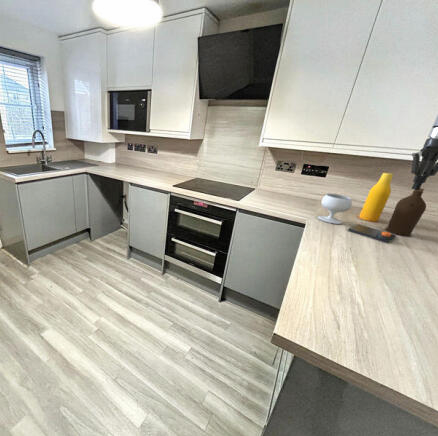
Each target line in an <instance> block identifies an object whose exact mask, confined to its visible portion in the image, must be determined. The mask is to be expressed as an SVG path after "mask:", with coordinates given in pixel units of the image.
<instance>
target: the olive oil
mask: <svg viewBox="0 0 438 436" xmlns="http://www.w3.org/2000/svg"><path fill="white" fill-rule="evenodd" d="M424 191H425V188H422V187H420V189H419V190H414V189H413V191H412V193H411V194H410V195H407V196H406V197H403V198H401V199H400V200H399V201H397V202H396V204H395V208H394V210H393V212H392V215H391V217H390V220H389V223H388V224H387V226H386V229H385V230H386V232H388V233H391V234H394V235H397V236H402V237H410V236H411V235H412V233H413V231H414V229H415V228H416V226H417V224H418V223H419V221H420V219H421V218H422V216H423V214H424V213H425V212H426V209H427V203H426V201H425V200H424V198H423V197H422V195H423V193H424Z"/></svg>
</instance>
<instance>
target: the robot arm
mask: <svg viewBox="0 0 438 436" xmlns="http://www.w3.org/2000/svg"><path fill="white" fill-rule="evenodd" d="M427 137H428V138H426V140H425V141H424V144H423V147H422V148H421V149H420V150H419V151H417V152H412V153H411V156H412V163H411V164H412V165H411V171H410V173H411V175H412V174H413V175H414V177H413V180H412V182H413V184H412V186H411V190H413V191H414V190H419V189H420V188H422V185H423V184H426V181H427V180H428V178H430V177H431V176H432V177H433V176H436V174H437V173H438V115H436V118H435V120H434V122H433V125H432V127H431V129H430V131H429V133H428V135H427ZM420 160H421V161H420Z"/></svg>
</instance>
